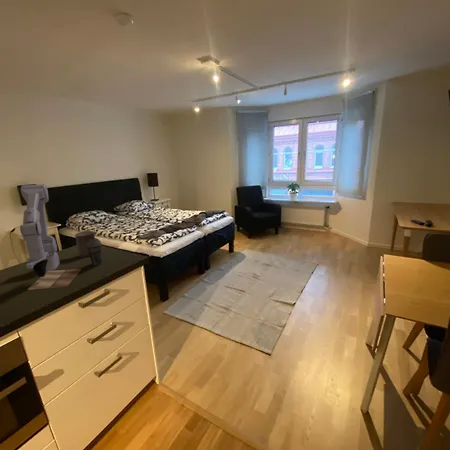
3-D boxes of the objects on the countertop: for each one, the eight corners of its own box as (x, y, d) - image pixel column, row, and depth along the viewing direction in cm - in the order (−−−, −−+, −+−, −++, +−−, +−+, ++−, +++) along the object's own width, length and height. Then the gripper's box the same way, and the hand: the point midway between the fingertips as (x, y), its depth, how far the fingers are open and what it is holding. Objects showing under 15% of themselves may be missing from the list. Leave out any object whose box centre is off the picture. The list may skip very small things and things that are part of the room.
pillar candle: (100, 254, 149) (96, 230, 145) (84, 259, 141) (80, 234, 137) (91, 251, 154) (87, 227, 150) (75, 256, 146) (70, 232, 142)
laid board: (67, 272, 127) (66, 269, 126) (82, 270, 128) (81, 268, 127) (50, 290, 110) (49, 287, 109) (67, 288, 111) (67, 286, 110)
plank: (48, 273, 125) (47, 270, 125) (66, 272, 126) (66, 270, 126) (27, 291, 108) (27, 289, 108) (49, 290, 109) (48, 288, 109)
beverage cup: (87, 265, 133) (81, 230, 128) (101, 261, 138) (96, 227, 133) (93, 270, 129) (86, 233, 123) (107, 265, 134) (101, 230, 128)
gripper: (34, 243, 117) (40, 270, 121) (15, 255, 103) (23, 284, 107) (50, 242, 118) (56, 268, 122) (34, 254, 104) (41, 283, 108)
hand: (42, 276), depth 115 cm, fingers closed
